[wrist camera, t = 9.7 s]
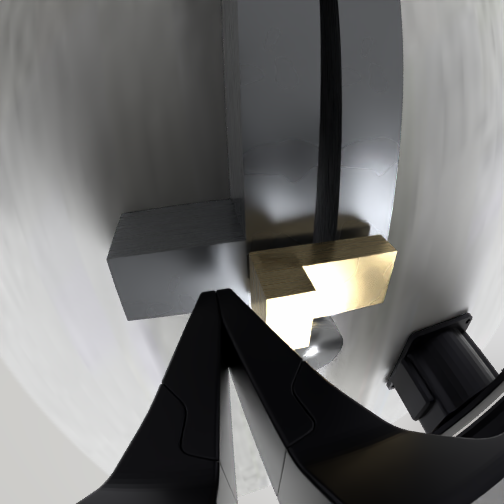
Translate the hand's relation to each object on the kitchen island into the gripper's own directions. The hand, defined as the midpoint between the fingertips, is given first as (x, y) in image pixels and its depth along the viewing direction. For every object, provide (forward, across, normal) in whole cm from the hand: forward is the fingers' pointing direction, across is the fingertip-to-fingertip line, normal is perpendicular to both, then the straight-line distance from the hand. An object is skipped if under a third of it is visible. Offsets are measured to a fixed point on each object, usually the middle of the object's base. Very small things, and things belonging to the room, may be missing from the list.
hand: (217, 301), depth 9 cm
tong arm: (+4, -4, -5) cm, 7 cm away
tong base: (+4, 0, -7) cm, 8 cm away
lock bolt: (+1, -3, 0) cm, 3 cm away
